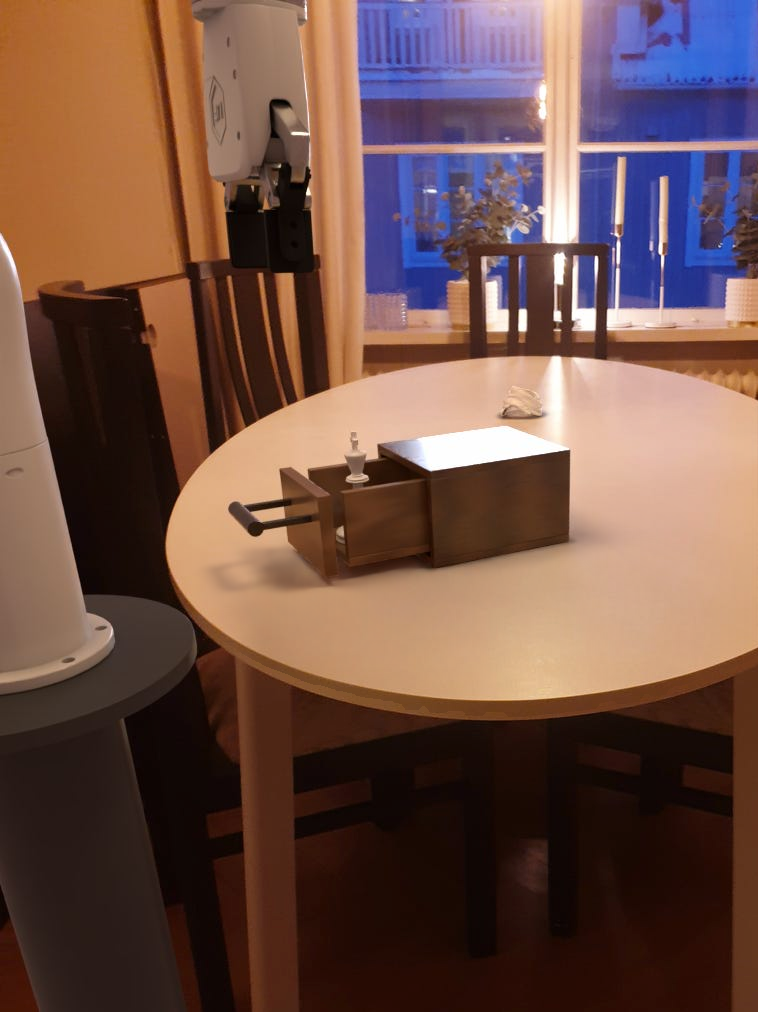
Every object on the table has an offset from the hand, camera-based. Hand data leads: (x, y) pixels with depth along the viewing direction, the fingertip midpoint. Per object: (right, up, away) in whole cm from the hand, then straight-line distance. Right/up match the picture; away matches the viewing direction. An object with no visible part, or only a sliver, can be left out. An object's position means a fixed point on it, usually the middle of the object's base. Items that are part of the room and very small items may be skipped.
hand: (270, 270), depth 69 cm
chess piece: (+4, -18, +19) cm, 27 cm away
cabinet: (+15, -17, +25) cm, 34 cm away
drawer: (+3, -19, +19) cm, 27 cm away
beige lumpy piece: (+22, +8, +79) cm, 83 cm away
